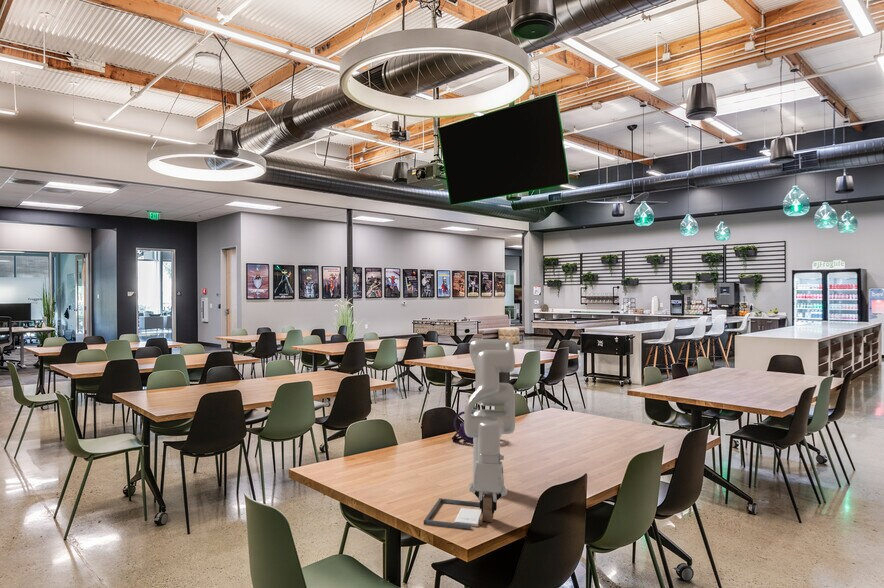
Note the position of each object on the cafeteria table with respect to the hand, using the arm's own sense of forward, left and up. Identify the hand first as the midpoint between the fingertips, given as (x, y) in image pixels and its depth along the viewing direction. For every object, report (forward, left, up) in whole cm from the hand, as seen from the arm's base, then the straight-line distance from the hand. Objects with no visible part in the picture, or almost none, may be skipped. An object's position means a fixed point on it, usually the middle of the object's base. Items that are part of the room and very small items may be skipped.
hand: (488, 511), depth 186 cm
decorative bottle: (-107, -26, -3) cm, 110 cm away
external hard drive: (0, -7, -4) cm, 8 cm away
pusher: (0, 0, -3) cm, 3 cm away
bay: (-2, -12, -3) cm, 12 cm away
